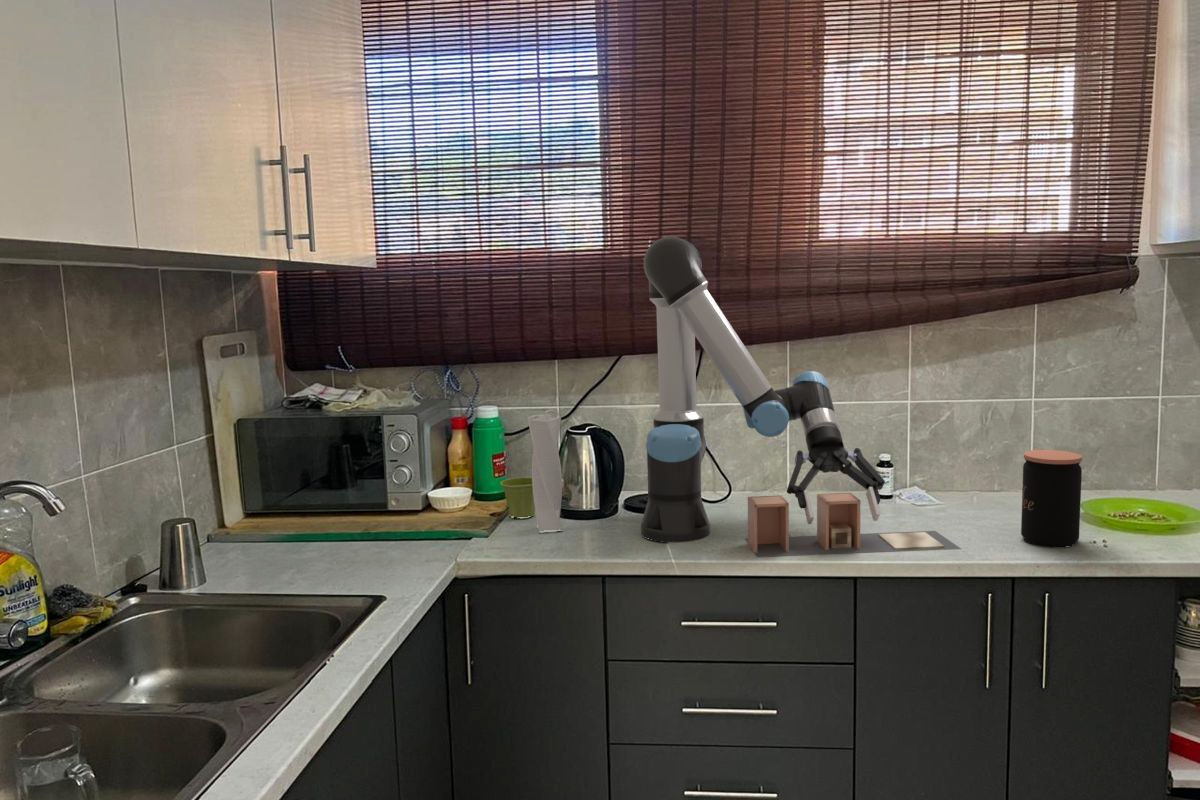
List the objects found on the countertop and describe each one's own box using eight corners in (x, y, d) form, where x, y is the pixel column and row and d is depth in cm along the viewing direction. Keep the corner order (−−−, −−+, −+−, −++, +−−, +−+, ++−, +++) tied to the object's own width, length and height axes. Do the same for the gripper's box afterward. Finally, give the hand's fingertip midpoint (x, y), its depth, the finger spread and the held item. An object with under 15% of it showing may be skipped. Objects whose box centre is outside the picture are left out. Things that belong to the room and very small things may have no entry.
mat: (757, 559, 176) (757, 557, 176) (744, 540, 189) (744, 538, 189) (961, 550, 177) (961, 548, 177) (935, 532, 190) (935, 530, 190)
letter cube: (831, 548, 180) (831, 529, 180) (826, 542, 184) (826, 523, 184) (851, 547, 180) (851, 528, 180) (845, 541, 184) (845, 523, 184)
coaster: (895, 549, 178) (895, 547, 178) (878, 535, 188) (878, 534, 188) (944, 547, 178) (944, 545, 178) (924, 533, 188) (924, 532, 188)
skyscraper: (568, 533, 199) (563, 409, 195) (535, 536, 197) (530, 411, 193) (562, 524, 206) (557, 405, 203) (530, 527, 205) (525, 407, 201)
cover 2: (825, 550, 179) (825, 501, 178) (817, 540, 186) (817, 494, 184) (860, 548, 179) (860, 500, 178) (850, 539, 186) (850, 492, 184)
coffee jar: (1025, 531, 189) (1028, 448, 187) (1082, 538, 183) (1085, 452, 180) (1015, 543, 180) (1018, 457, 178) (1074, 551, 174) (1078, 461, 172)
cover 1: (754, 552, 179) (753, 504, 177) (748, 543, 185) (747, 496, 184) (788, 551, 179) (788, 503, 178) (781, 542, 185) (781, 495, 184)
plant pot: (509, 523, 208) (507, 487, 207) (497, 514, 217) (495, 480, 216) (546, 518, 212) (545, 482, 211) (533, 509, 221) (531, 475, 219)
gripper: (874, 441, 197) (899, 525, 184) (763, 446, 196) (780, 531, 183) (883, 421, 191) (909, 506, 178) (768, 426, 190) (786, 512, 177)
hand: (843, 519), depth 181 cm, fingers open, 13 cm apart
